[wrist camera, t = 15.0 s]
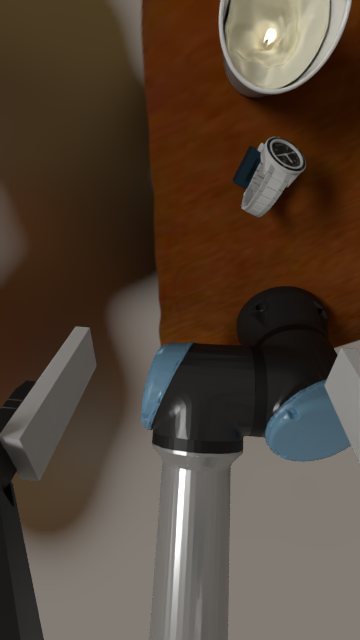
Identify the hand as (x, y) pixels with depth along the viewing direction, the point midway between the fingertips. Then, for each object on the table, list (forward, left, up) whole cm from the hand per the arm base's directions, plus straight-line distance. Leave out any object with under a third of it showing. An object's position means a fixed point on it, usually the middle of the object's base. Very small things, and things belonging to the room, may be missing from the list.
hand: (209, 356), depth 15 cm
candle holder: (+18, -4, -32) cm, 37 cm away
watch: (+6, -6, -32) cm, 33 cm away
